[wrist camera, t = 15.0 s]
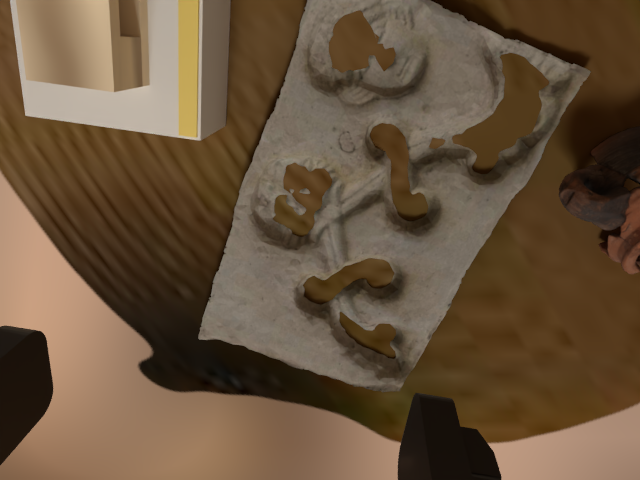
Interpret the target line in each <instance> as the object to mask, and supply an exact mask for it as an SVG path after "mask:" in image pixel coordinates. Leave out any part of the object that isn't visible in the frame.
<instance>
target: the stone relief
mask: <svg viewBox="0 0 640 480" xmlns="http://www.w3.org/2000/svg"><path fill="white" fill-rule="evenodd" d="M304 8H305V12H304V14H303V16H302V19H301V22H300V29H299V36H298V38H297V42H296V45H297V46H296V49H295V51H294V55H293V57H292V60H291V63H290V66H289V68H288V71H287V74H286V77H285V82H284V86H283V87H282V88H281V95H280V96H279V97H280V98H279V99H277V102H276V107H275V108H274V109H275V110H274V111H273V114H271V115H270V118H269V120H267V123H266V125H265V128H264V131H263V134H262V137H261V140H260V142H259V146H257V148H256V150H255V153H254V156H253V161H252V163H251V164H250V167H249V169H248V172H246V174H245V177H244V180H243V183H242V186H241V188H240V191H239V193H240V194H239V198H238V201H237V203H236V207H235V209H234V212H235V213H234V216H233V218H234V219H233V222H232V225H233V226H232V229H231V231H230V236H229V237H228V240H227V243H226V247H227V248H225V249H224V253H226V254H224V255H223V258H222V261H221V264H220V267H219V271H218V272H216V275H215V278H214V280H213V283H214V285H213V284H212V285H213V286H212V293H211V298H209V299H210V301H208V304H207V307H206V310H205V313H204V315H203V318H202V319H203V321H202V324H201V326H202V327H200V333H199V335H198V337H199V340H200V339H204V340H209V339H220V340H223V341H225V342H228V343H231V344H233V345H243V346H246V347H247V348H248V349H249V350H254V351H256V352H260V353H262V354H264V355H266V356H268V357H271V358H275V359H279V360H281V361H283V362H285V363H286V364H288V365H290V366H293V367H295V368H300V369H303V368H304V369H305V370H310V371H312V372H314V373H317V374H319V375H321V374H322V375H326V376H329V377H331V378H333V379H338V380H342V381H344V382H345V383H348V384H350V385H351V384H352V385H353V386H354V387H355V386H359V387H360V386H362V387H364V388H366V389H370V390H374V391H375V390H376V391H382V392H386V391H387V392H388V391H394V392H395V391H400V388H401V387H402V385H403V383H404V382H405V379H406V377H407V376H408V375H409V373H410V372H411V370H413V368H414V367H415V365H416V363H417V361H418V359H419V358H420V356H421V355H422V353H423V351H424V349H425V347H426V346H427V344H428V342H429V341H430V338H431V336H432V334H433V333H434V331H435V330H436V329H437V327H438V325H439V324H440V322H441V321H442V319H443V318H444V316H445V314H446V311H447V310H448V309H449V307H450V304H451V300H452V299H453V298H454V295H456V292H457V290H458V288H459V284H461V278H462V277H463V276H464V275H465V273H466V272H465V271H466V270H467V269H468V268H469V266H470V265H471V263H472V261H473V260H474V258H475V256H476V255H477V253H478V251H479V250H480V248H481V247H482V246H483V245H484V243H485V241H486V239H487V238H489V236H490V235H491V232H492V230H493V228H494V227H495V225H496V224H497V222H498V219H499V218H500V217H501V216H502V214H503V213H504V212H505V210H506V208H507V206H508V204H509V203H510V201H511V199H512V198H513V197H514V196H515V195H516V193H518V192H519V190H521V189H522V188H523V187H525V185H526V183H527V182H528V180H529V178H530V177H531V175H532V173H533V171H534V169H535V167H536V165H537V164H538V162H539V160H540V159H541V155H542V153H543V151H544V147H545V145H546V143H547V142H548V141H547V140H548V139H549V138H550V136H551V134H552V133H553V131H554V130H555V128H556V127H557V125H558V123H559V122H560V120H559V119H560V118H561V116H562V114H563V113H564V112H565V110H566V107H567V106H568V103H570V102H571V101H572V99H573V98H574V96H575V95H576V93H577V92H578V90H579V88H580V86H581V85H582V84H583V83H582V82H583V81H585V80H586V79H587V77H588V76H589V74H590V72H591V71H589V70H587V69H585V68H583V67H581V66H578V65H576V64H574V63H573V65H572V64H570V63H567V62H565V61H563V60H561V59H559V58H557V57H554V56H552V55H551V54H550V53H549V54H548V53H545V52H543V51H541V50H538V49H536V48H534V47H532V46H530V45H527V44H525V43H524V42H521V41H519V40H513V39H512V40H510V38H509V39H504V37H502V36H500V35H499V34H497V33H495V32H493V31H491V30H488V29H487V28H485V27H483V26H481V25H480V26H478V24H476V23H474V22H472V21H469V22H468V21H467V19H466V18H465V17H464V16H463V15H460V16H459V13H453V12H450V11H449V10H448V9H444V8H442V5H439V4H437V3H435V2H433V1H431V0H307V4H306V7H304ZM357 10H360V11H361V12H363V15H364V16H365V18H366V19H367V21H368V22H369V24H370V25H371V27H372V29H373V31H374V34H375V33H376V34H377V35H378V36H379V41H378V44H383V45H384V48H385V49H387V48H391V47H394V49H395V52H396V56H395V59H394V62H393V64H392V65H391V66H390V67H389V68H388V69H387V70H386V71H385V72H383V70H382V68H381V67H380V65H379V64H378V62H377V60H376V58H375V56H369V66H368V67H367V68H365V69H360V70H355V71H351V70H348V71H346V72H344V73H341V72H339V71H338V70H337V69H334V68H332V62H331V58H330V55H329V41H330V39H331V37H332V36H333V32H332V31H333V27H334V25H335V23H336V22H337V21H338V20H339V19H340V18H341V17H342V16H343V15H346V14H349V13H352V12H355V11H357ZM375 37H376V36H375ZM507 53H515V54H519V55H521V56H523V57H525V58H527V60H528V61H529V63H530V64H533V65H534V66H535V67H536V68H537V69H538V70H539V71H541V72H542V73H543V75H544V76H545V77H546V78H547V79H548V80H549V85H548V86H546V87H545V88H543V89H542V90H539V97H540V99H541V102H542V108H541V111H540V113H539V116H538V119H537V122H536V125H535V128H534V130H533V132H532V133H531V134H529V135H527V136H525V137H521V138H518V139H517V142H516V144H515V145H514V146H513V147H511V148H509V149H505V150H503V151H500V153H499V154H498V155H499V160H498V162H497V163H496V165H495V166H494V167H493V169H492V170H491V171H490V172H489V173H488V174H479V173H476V172H475V171H473V169H472V165H473V164H474V162H475V160H476V157H477V155H476V154H475V152H474V151H472V150H471V149H469V148H467V147H463V146H461V145H457V144H454V143H452V136H453V135H456V134H462V133H463V132H464V131H465V130H466V129H467V128H470V127H471V126H474V125H476V124H478V123H480V122H482V121H483V120H485V119H486V118H488V117H489V116H490V115H492V114H493V113H494V111H495V109H496V107H497V105H498V104H499V102H500V101H501V100H502V99H503V97H504V83H505V77H504V75H503V73H502V66H503V65H502V61H501V59H500V58H499V57H500V56H501V54H507ZM380 123H387V124H389V123H391V124H393V125H395V126H396V127H398V128H399V129H400V131H401V132H402V133H403V135H404V136H405V137H406V143H407V147H408V150H409V163H408V179H409V182H410V192H411V193H412V194H416V193H417V192H421V193H422V194H424V196H425V198H426V200H427V203H428V211H427V214H426V215H425V216H424V217H423V218H421V219H418V220H415V221H406V220H404V219H402V218H401V217H400V216H399V215H398V213H397V210H396V207H395V205H394V204H393V201H392V200H393V199H392V194H391V187H390V180H391V179H390V172H391V161H390V159H389V158H388V157H387V155H386V152H385V151H382V150H380V149H377V148H375V146H374V145H373V142H372V141H371V139H370V132H371V130H372V128H373V127H374V126H376V125H378V124H380ZM432 137H435V138H441V137H442V139H444V140H445V143H444V145H442V146H440V147H439V148H437V149H431V148H429V145H430V142H431V139H432ZM294 162H296V163H297V164H299V165H301V166H305V167H306V168H307V169H308V171H312V170H314V169H315V168H325V169H326V170H327V171H328V173H329V174H330V176H331V178H332V180H333V181H332V185H331V187H330V188H329V189H328V190H327V191H326V192H325V194H324V196H323V197H322V206H321V208H320V209H319V210H317V211H316V212H315V214H314V219H315V223H314V227H313V229H311V230H310V231H309V233H308V234H307V235H306V236H304V237H298V236H296V235H294V234H292V232H291V230H290V229H289V228H286V227H285V226H284V225H281V224H279V223H277V222H275V221H274V220H273V217H274V216H275V215H276V214H275V213H274V204H275V199H276V197H277V196H278V195H281V194H282V195H287V200H286V202H287V204H288V205H290V206H292V207H293V208H294V210H295V211H296V212H297V213H298V215H302V214H304V213H305V211H306V208H305V207H303V206H302V205H301V204H299V203H298V202H296V201H295V199H294V198H293V196H292V195H291V194H292V193H293V191H294V190H293V189H290V192H291V194H290V193H289V192H287V191H286V190H285V189H284V188H283V178H284V174H285V170H286V169H285V168H286V166H287V165H289V164H291V163H294ZM300 193H304V194H309V193H310V192H309V190H308V189H306V188H304V189H302V190H300ZM367 258H376V259H383V260H386V261H387V262H388V263H390V265H391V267H392V269H393V271H394V273H395V274H394V276H393V279H392V281H391V284H389V285H387V286H386V287H383V288H381V289H376V288H372V287H371V286H370V285H369V284H368V283H367V281H366V279H359V280H357V281H355V282H352V283H351V284H350V285H348V286H347V287H345V288H343V290H342V291H341V292H340V293H338V294H337V295H336V296H335V297H334V299H333V300H331V301H329V302H326V303H324V304H322V305H320V304H316V303H313V302H311V301H309V300H308V299H307V298H305V297H304V287H303V284H304V283H305V281H306V280H307V279H308V278H309V277H311V276H316V277H318V278H319V279H321V280H326V279H327V278H329V277H330V276H331V275H333V274H334V273H336V272H338V271H339V270H341V269H342V268H343V267H344V266H346V265H351V264H354V263H357V262H360V261H362V260H364V259H367ZM340 312H343V313H344V314H345V315H346V316H348V317H349V318H350V319H351V320H353V321H354V322H356V323H357V324H359V325H360V326H361V327H362V328H364V329H365V330H374V329H375V327H376V326H377V325H378V324H379V323H388V324H391V325H392V326H393V327H394V328H395V329H396V336H395V338H394V340H392V341H391V342H390V346H391V347H392V348H393V349H394V350H395V352H396V358H395V359H390V358H387V357H386V356H385V355H383V354H378V353H376V352H375V351H373V350H371V349H368V348H365V347H362V346H361V345H359V344H357V343H356V342H355V340H354V339H352V338H350V337H349V336H348V335H347V334H346V332H345V331H346V330H345V329H344V328H343V327H342V326H341V324H340V322H339V316H340V315H339V313H340Z"/></svg>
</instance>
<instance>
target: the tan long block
mask: <svg viewBox="0 0 640 480" xmlns="http://www.w3.org/2000/svg"><path fill="white" fill-rule="evenodd" d="M16 6H17V13H18V21H19V29H20V36H21V44H22V52H23V59H24V67H25V75H26V80H30V81H37V82H44V83H52V84H59V85H66V86H73V87H80V88H87V89H95V90H102V91H109V92H118V91H123V90H128V89H133V88H138V87H143V86H148V85H150V80H149V44H148V8H147V0H16Z"/></svg>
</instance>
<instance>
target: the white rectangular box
mask: <svg viewBox="0 0 640 480" xmlns="http://www.w3.org/2000/svg"><path fill="white" fill-rule="evenodd" d="M10 3H11V11H12V18H13V26H14V33H15V40H16V48H17V55H18V63H19V70H20V78H21V85H22V93H23V100H24V107H25V115H26V116H32V117H39V118H46V119H53V120H60V121H67V122H74V123H81V124H88V125H95V126H102V127H109V128H116V129H123V130H130V131H137V132H144V133H151V134H158V135H165V136H172V137H179V138H186V139H193V140H200V141H201V140H202V139H204V138H206V137H207V136H209V135H211V134H212V133H214V132H216V131H218V130H219V129H221V128H223V127H224V126H226V108H227V82H228V56H229V30H230V4H231V0H147V8H148V44H149V80H150V85H148V86H143V87H138V88H133V89H128V90H123V91H118V92H109V91H102V90H95V89H87V88H80V87H73V86H66V85H59V84H52V83H44V82H37V81H30V80H26V75H25V67H24V59H23V52H22V44H21V36H20V29H19V21H18V13H17V6H16V0H10Z"/></svg>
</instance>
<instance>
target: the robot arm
mask: <svg viewBox="0 0 640 480" xmlns="http://www.w3.org/2000/svg"><path fill="white" fill-rule="evenodd" d="M52 394H53V382H52V375H51V368H50V361H49V355H48V347H47V340H46V337H45V335H44V334H43V333H42V332H41V331H36V330H30V329H24V328H17V327H11V326H1V327H0V465H1V464H2V463H3V462H4V461H5V459H6V458H7V457H8V456H9V455H10V454H11V452H12V451H13V450H14V449H15V448H16V447H17V446H18V444H19V443H20V442H21V441H22V440H23V438H24V437H25V436H26V435H27V434H28V433H29V432H30V431H31V429H32V428H33V427H34V426H35V425H36V424H37V422H38V421H39V420H40V419H41V418H42V417H43V415H44V414H45V412H46V410H47V409H48V407H49V404H50V402H51V399H52ZM398 480H501V474H500V471H499V467H498V464H497V462H496V458H495V455H494V452H493V450H492V449H491V448H490V446H489V445H488V444H487V442H486V441H485V440H484V438H483V437H482V436H481V434H480V433H479V432H478V430H477V429H472V428H466V427H460V424H459V420H458V416H457V412H456V408H455V404H454V401H453V400H452V399H451V398H445V397H439V396H433V395H426V394H420V393H416V394H415V395H414V397H413V400H412V404H411V407H410V411H409V415H408V419H407V423H406V426H405V430H404V434H403V438H402V442H401V446H400V452H399V459H398Z"/></svg>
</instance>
